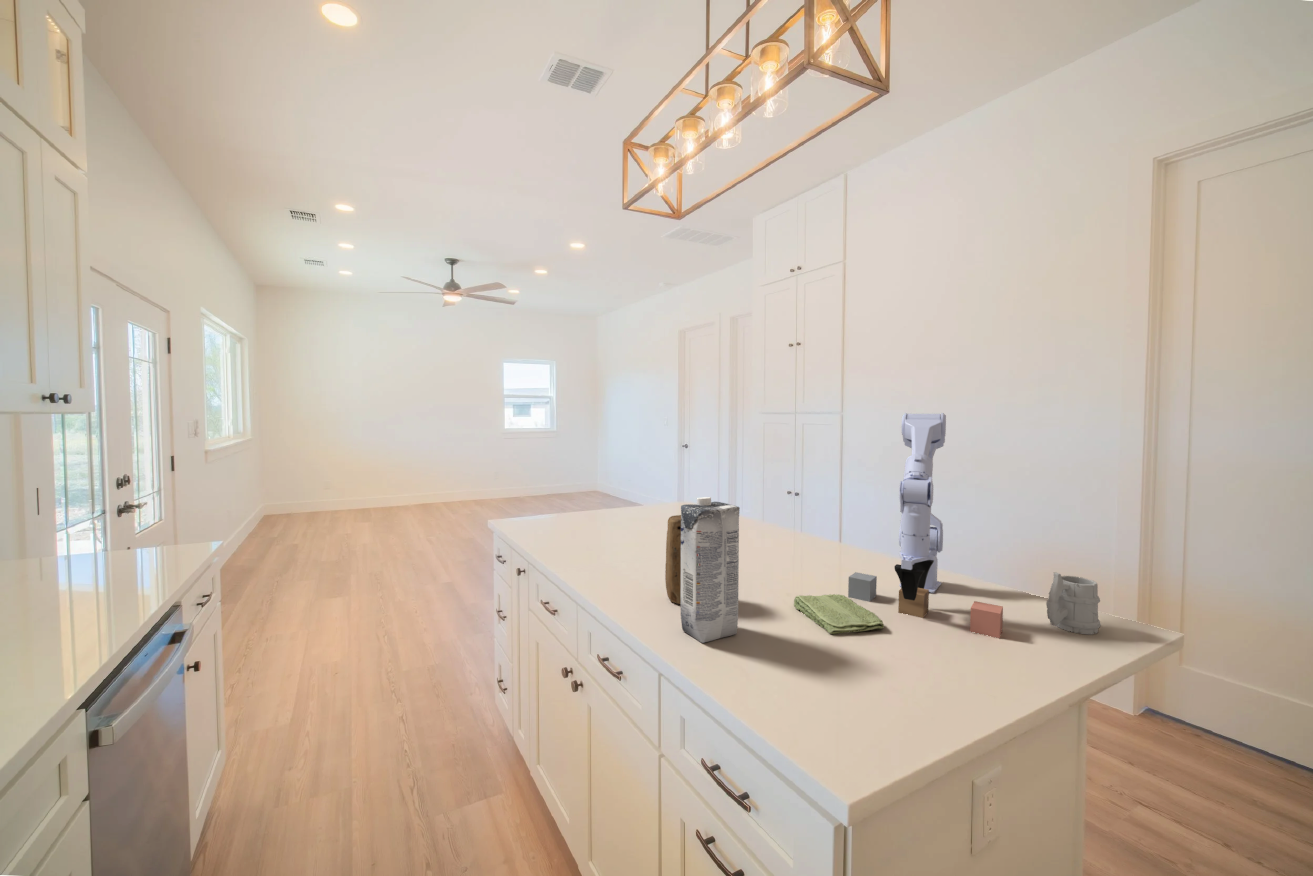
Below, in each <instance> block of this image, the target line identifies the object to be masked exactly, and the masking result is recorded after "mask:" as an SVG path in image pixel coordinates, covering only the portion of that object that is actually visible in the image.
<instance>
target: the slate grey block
mask: <svg viewBox="0 0 1313 876" xmlns="http://www.w3.org/2000/svg"><path fill="white" fill-rule="evenodd" d="M877 579H878V578H877V575H872V574H868V573H862V572H856V571H855V572H853V573H852V574H851V575H849V576H848V583H847V584H848V588H847V589H848V591H847V593H848V594H847V595H848V596H847V598H849V599H854V600H859V601H863V602H868V603H869V602H872V601H873V600H874V599H875V598H876V597H877V584H878V583H877V582H878V581H877Z"/></svg>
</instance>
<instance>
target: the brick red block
mask: <svg viewBox="0 0 1313 876" xmlns="http://www.w3.org/2000/svg"><path fill="white" fill-rule="evenodd" d="M1003 614H1004V606H1003V605H996V604H991V603H988V602H987V603H986V602H982V601H981V602H980V601H976V600H974V601H973V603H972V605H971V606H970V615H969V616H970V618H969V620H970V622H969V625H970V626H969V632H970V631H971V632H970V633H972V632H975V633H974V634H977V633H979V634H978V635H981V634H984V635H983V636H986V635H988V636H987V637H990V636H991V637H990V638H995V637H996V638H995V639H1001V636H1002V633H1003V624H1004V623H1003V619H1004V615H1003ZM1001 632H1002V633H1001ZM1000 635H1001V636H1000Z"/></svg>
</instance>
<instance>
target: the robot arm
mask: <svg viewBox="0 0 1313 876" xmlns="http://www.w3.org/2000/svg"><path fill="white" fill-rule="evenodd" d="M946 431H947V415H946V414H945V413H944V412H941V413H908V412H904V413H903V415H902V416H901V435H902V440H903V441H902V442H903V444H904V446H905V447H908V448H909V449H911V455H909V456H908V457H907V458H906V459H905V464H904V471H903V480H901V481H900V483H899V486H898V487H899V488H898V498H899V499H898V500H899V505H900V507H899V509H900V513H901V514H900V515H901V518H900V524H899V532H898V545H899V548H900V551H899V553H898V554H899V558H900V559H901V560H900V561H901V563H900V564H895V565H894V571H895V573H896V575H897V577H898V579H899V582H900V583H899V586H898V587H901V588H902V592H903V596H904V599H908V600H913V601H914V600H915V598H916V595H917V590H918V588H923V589H928V590H929V593H935V592H936V591H937V589H939V587H940V586H941V584H942V581H938V563H939V562H938V560H939V559H938V557H937V555H938V553H941V552H942V551H943V548H944V543H943V542H944V529H943V526H944V525H943V522H942V520H941V519H939V518H938V517H937V516H936V515H935V514H933V513H932V506H933V503H934V483H933V468H934V456H935V453H936V450H938V449H941V448H942V447H943V448H944V446H945V445H944V444H945V442H946V435H947V433H946Z"/></svg>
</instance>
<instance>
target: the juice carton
mask: <svg viewBox="0 0 1313 876" xmlns="http://www.w3.org/2000/svg"><path fill="white" fill-rule="evenodd" d="M680 515H681V604H680V621H681V622H680V623H681V628H682V631H683V632H684V633H686V634H687V635H689V636H691V637H692V638H694V639H695V640H696V641H698V642H700V643H701V644H702V643H708V642H712V641H715V640H718V639H722V638H728V637H730V636H734V635H737V632H738V625H739V623H738V621H739V571H740V570H739V568H740V567H739V562H740V558H739V556H740V555H739V552H740V551H739V550H740V507H739V506H737V505H733V504H729V503H725V502H721V501H712V497H709V496H703V497H697V498H696V504H682V505H681V506H680Z"/></svg>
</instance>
